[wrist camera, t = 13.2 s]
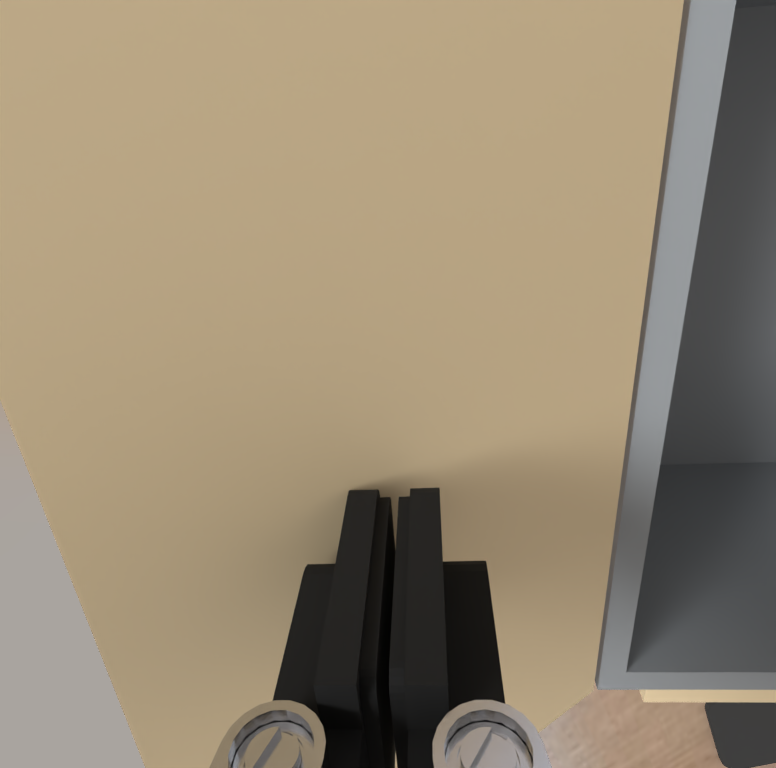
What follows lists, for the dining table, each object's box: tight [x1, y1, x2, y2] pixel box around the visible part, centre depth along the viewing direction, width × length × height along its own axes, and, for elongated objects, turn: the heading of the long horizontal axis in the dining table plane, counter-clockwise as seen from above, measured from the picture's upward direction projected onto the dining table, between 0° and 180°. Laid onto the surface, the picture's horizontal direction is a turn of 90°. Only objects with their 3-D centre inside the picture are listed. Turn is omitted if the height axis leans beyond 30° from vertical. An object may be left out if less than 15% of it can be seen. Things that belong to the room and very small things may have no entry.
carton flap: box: [0, 0, 684, 768], centre depth 12 cm, size 20×12×1 cm
